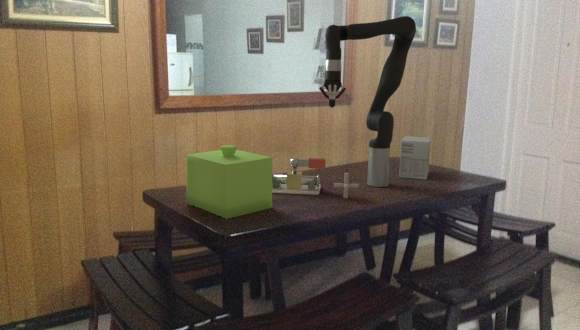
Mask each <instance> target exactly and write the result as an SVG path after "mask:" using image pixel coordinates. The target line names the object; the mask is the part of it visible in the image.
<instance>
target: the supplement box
mask: <svg viewBox="0 0 580 330" xmlns="http://www.w3.org/2000/svg"><path fill="white" fill-rule="evenodd" d="M431 140H432V138H431V137H422V136H410V135H409V136H408V135H405V136H403V137H402V138H401V140H400V155H399V158H400V159H399V173H398V174H399V175H398V176H399V178H403V179H415V180H424V181H425V180H427V178H428V176H429V173H430V172H429V168H430V151H431V143H432V141H431Z"/></svg>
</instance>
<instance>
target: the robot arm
mask: <svg viewBox="0 0 580 330" xmlns="http://www.w3.org/2000/svg"><path fill="white" fill-rule="evenodd" d="M416 33H417V25H416V21H415V20H414V18H412V17H410V16H409V15H404V16H399V17H395V18H391V19H386V20H380V21H374V22H360V23H350V24H348V25H337V24H330V25H329V26H328V27H326V29H325V34H324V35H325V36H324V37H325V48H326V50H325V51H326V52H325V63H324V82H323V84H322V86H320V87H319V88H318V89H319V91H320V93H322V95H323V96H324V97H325V98H326V99H327V100H329V102H328V106H329V108H331V109H333V108H334V107H336V100H338V99H340V97H341V96H342V95H343V94H344V92H346V89H347V87H345V86H344V85H343V84H342V48H341V42H343V41H349V40H351V41H358V40H367V39H372V38H375V37H379V36H383V35H393V36H394V39H393V43H392V47H391V51H390V52H389V55H388V56H387V59H386V60H385V63H384V65H383V68H382V70H381V75H380V79H379V82H378V85H377V89H376V92H375V95H374V96H373V97H374V98H373V100H372V103H371V106H370V107H369V110H368V113H367V116H366V121H365V122H366V123H365V124H366V128H367V129H368V130H369V131H371V132H377V135H376V137H375V138H372V139H370V140H369V142H368V156H367V157H368V160H367V176H366V177H367V178H366V181H367V182H366V184H367V185H368V186H370V187H375V188H384V187H389V181H390V152H391V143H392V141H393V136H394V135H393V134H394V128H395V127H394V125H395V124H394V123H395V122H394V121H395V119H394V118H395V117H394V115H393V114H392V113H391V112H390V111H385V110H384V109H385V107H386V104H387V103H388V101H389V100H390V99H391V97H392V96H393V95H394V94H395V92H396V91H397V90H398V88H399V87H400V85H401V83H402V80H403V77H404V73H405V69H406V64H407V58H408V54H409V50H410V48H411V46H412V42H413V41H414V38H415V37H416ZM325 90H326V91H327V92H328V94H327V93H326V91H325ZM339 90H340V91H339ZM338 91H339V93H338V94H337V92H338Z"/></svg>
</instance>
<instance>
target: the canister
mask: <svg viewBox="0 0 580 330" xmlns="http://www.w3.org/2000/svg"><path fill="white" fill-rule="evenodd" d="M219 148H220V150H219V149H218V150H210V151H203V152H202V151H201V152H196V153H195V152H194V153H188V154H186V155H185V183H186V184H185V185H186V189H185V190H186V204H187V203H189V204H191V205H194V206H196V207H199V208H202V209H204V210H206V211H209V212H211V213H213V214H212V215H214V214H216V215H215V216H217V215H218V216H217V217H219V216H221V217H220V218H222V217H223V218H222V219H224V218H225V220H228V218H229V219H233V218H237V217H240V216H246V215H248V214H254V213H257V212H260V211H265V210H269V209H272V208H273V193H272V174H273V164H274V163H273V157H270V156H267V155H262V154H257V153H253V152H248V151H245V150H239V149H238V146H236V145H233V144H232V145H231V144H225V145H221V146H220V147H219ZM191 205H190V206H191ZM196 207H195V208H196ZM204 210H203V211H204ZM206 211H205V212H206ZM209 212H208V213H209ZM211 213H210V214H211ZM232 217H233V218H232Z"/></svg>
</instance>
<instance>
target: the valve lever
mask: <svg viewBox="0 0 580 330" xmlns="http://www.w3.org/2000/svg"><path fill="white" fill-rule="evenodd" d="M326 160H327V159H326V158H324V157H308V159H307V158H298V157H297V158H290V163H289V164H290V165H289V166H290V167H297V168H301V167H302V168H308V169H313V170H314V169H316V170H317V169H319V170H320V169H322V170H326V162H327V161H326Z"/></svg>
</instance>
